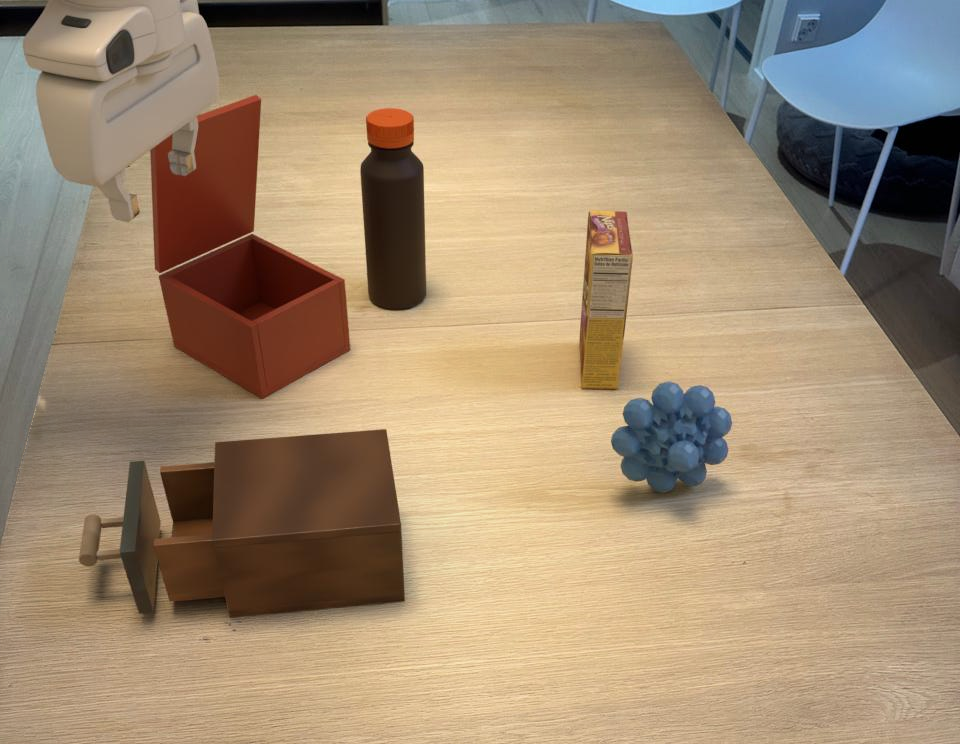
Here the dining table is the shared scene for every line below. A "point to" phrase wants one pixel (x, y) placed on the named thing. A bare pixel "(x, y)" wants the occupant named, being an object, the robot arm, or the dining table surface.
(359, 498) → the cabinet
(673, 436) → the blue knobbed flower
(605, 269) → the candy box
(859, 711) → the dining table surface
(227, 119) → the lid
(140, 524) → the pulled out drawer
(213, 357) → the chest
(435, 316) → the dining table surface
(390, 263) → the bottle
